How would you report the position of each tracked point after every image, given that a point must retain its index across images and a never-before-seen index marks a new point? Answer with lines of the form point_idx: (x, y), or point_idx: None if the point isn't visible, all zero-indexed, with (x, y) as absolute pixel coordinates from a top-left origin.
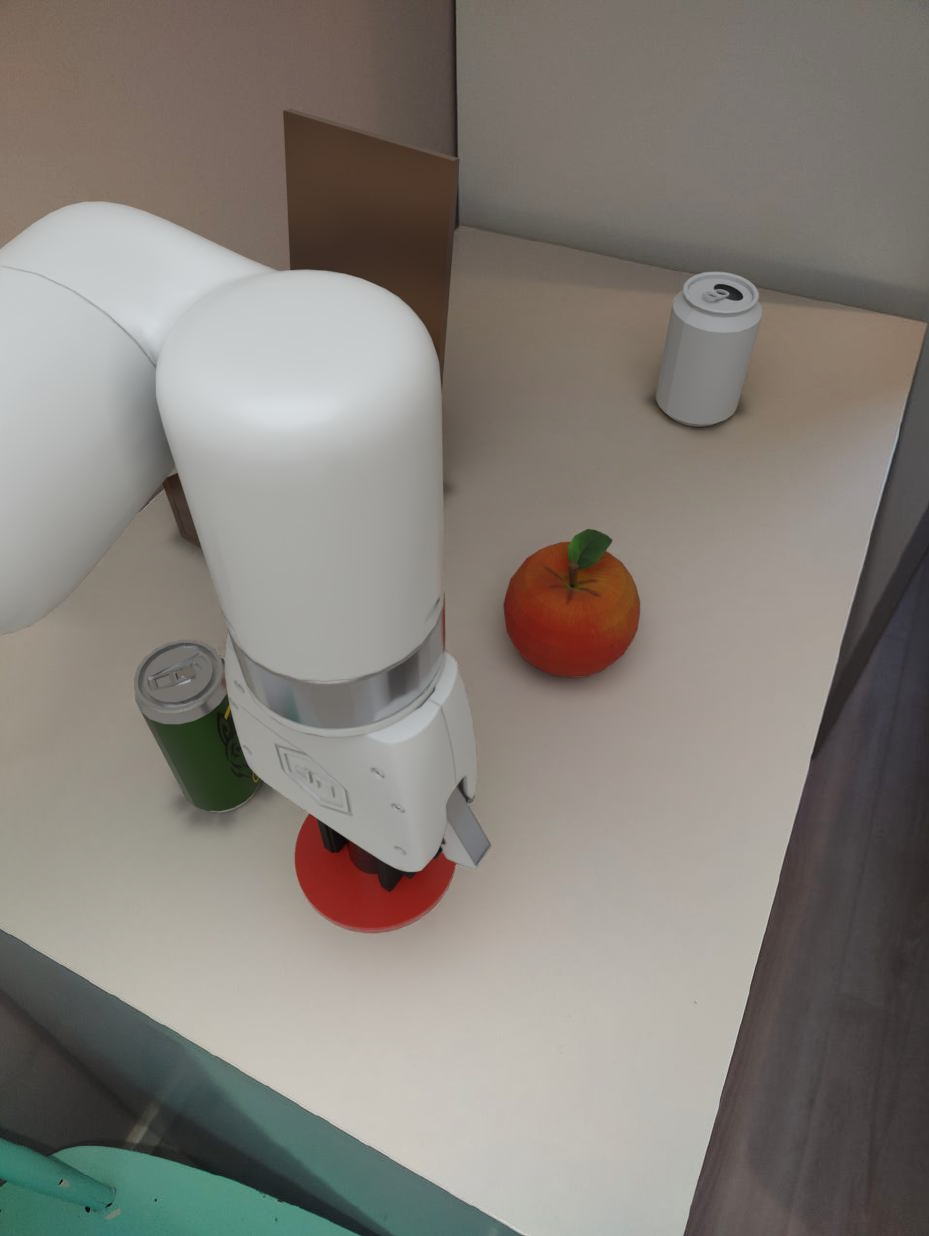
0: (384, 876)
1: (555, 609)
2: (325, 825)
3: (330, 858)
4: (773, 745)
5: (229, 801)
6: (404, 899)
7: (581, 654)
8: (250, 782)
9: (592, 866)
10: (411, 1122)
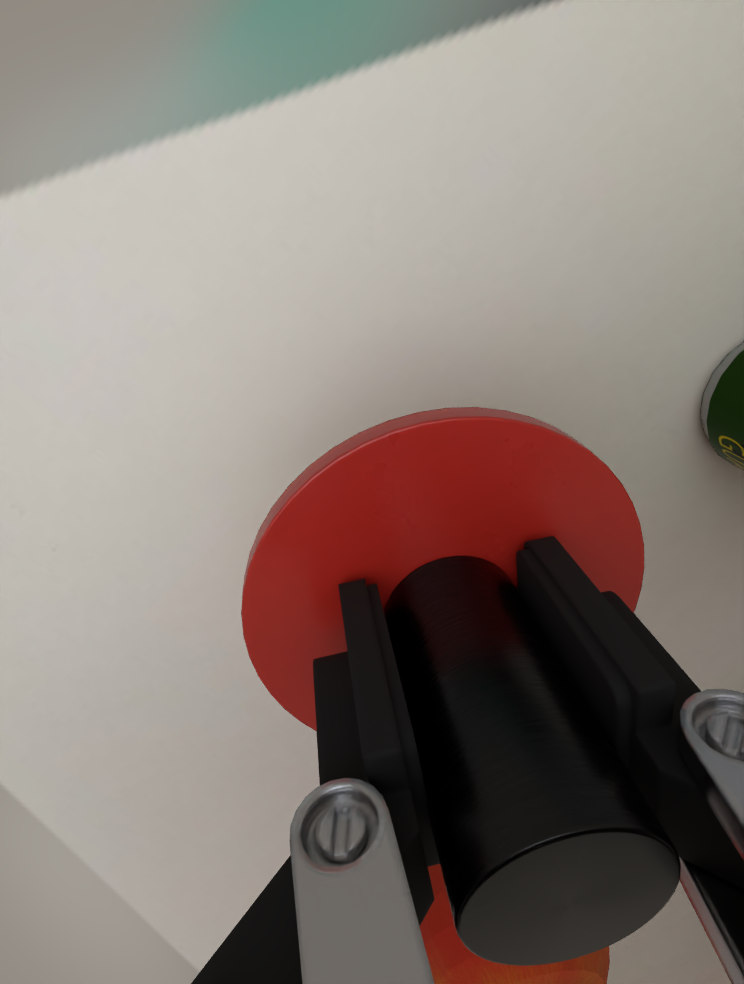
0: (356, 647)
1: (519, 981)
2: (615, 663)
3: (522, 524)
4: (186, 916)
5: (741, 381)
6: (300, 591)
7: (441, 917)
8: (732, 432)
9: (217, 697)
10: (65, 242)
